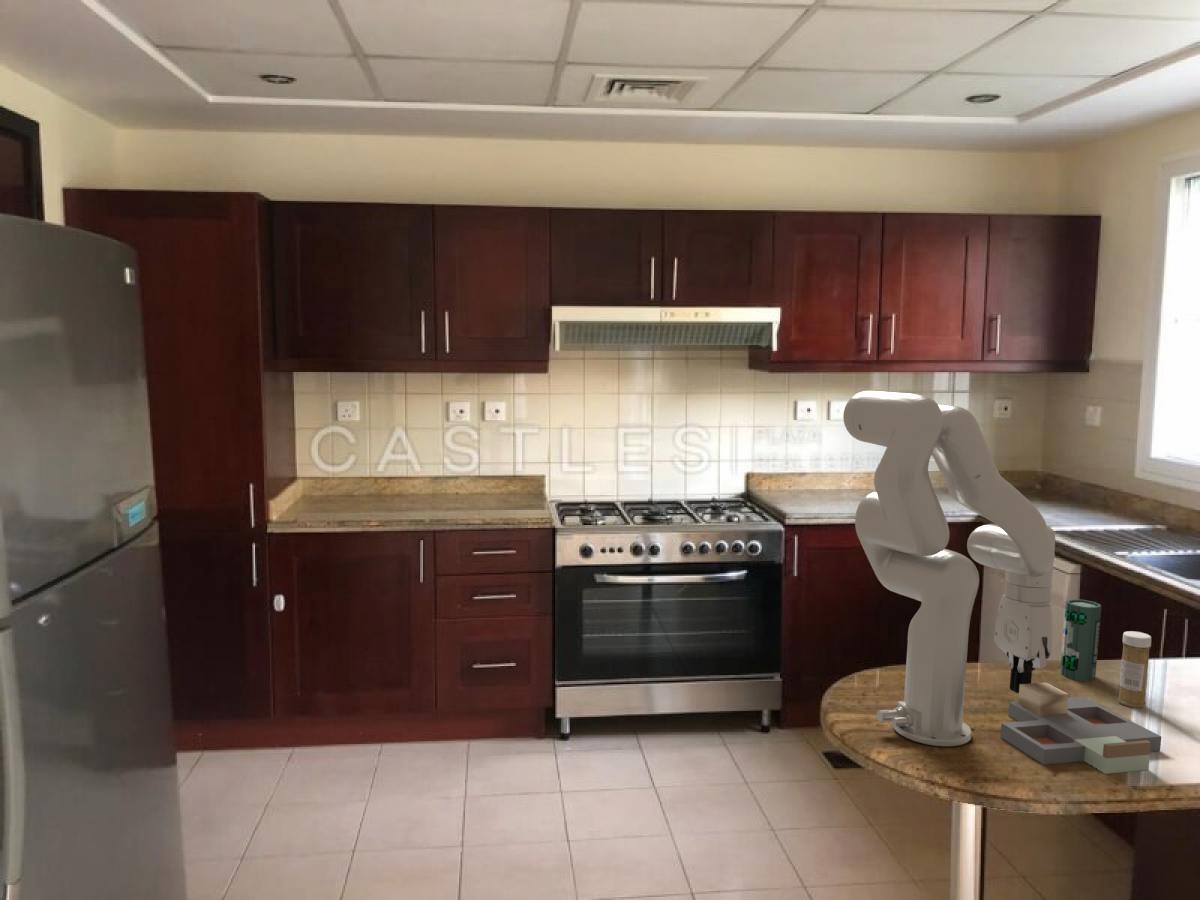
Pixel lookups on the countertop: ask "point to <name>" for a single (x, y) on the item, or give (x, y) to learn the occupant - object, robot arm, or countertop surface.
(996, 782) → the countertop surface
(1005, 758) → the countertop surface
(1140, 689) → the sprinkles bottle
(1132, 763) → the board
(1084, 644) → the can
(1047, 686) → the birch block
